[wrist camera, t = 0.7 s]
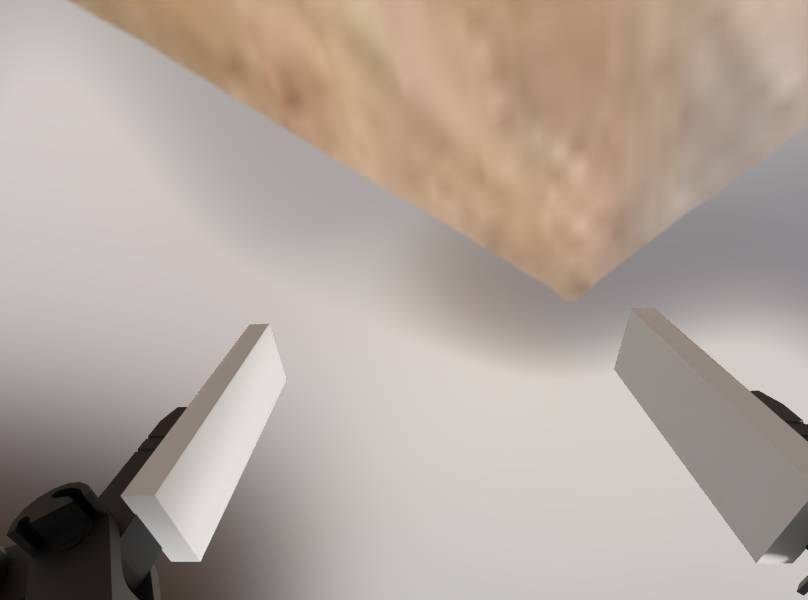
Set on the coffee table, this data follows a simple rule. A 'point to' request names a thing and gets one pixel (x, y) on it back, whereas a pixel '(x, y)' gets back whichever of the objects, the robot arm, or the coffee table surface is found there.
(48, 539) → the robot arm
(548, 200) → the coffee table surface
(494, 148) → the coffee table surface
